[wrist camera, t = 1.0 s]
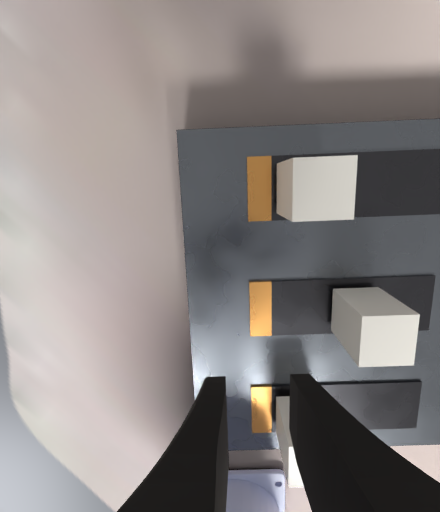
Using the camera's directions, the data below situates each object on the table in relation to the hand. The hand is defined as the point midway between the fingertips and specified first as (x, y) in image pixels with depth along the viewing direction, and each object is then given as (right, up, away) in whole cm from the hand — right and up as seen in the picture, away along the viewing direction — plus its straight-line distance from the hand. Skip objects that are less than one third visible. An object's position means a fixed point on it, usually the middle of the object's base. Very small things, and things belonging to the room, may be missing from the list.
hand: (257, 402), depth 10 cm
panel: (+6, +3, +10) cm, 12 cm away
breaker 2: (+3, +8, +5) cm, 10 cm away
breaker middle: (+6, +2, +7) cm, 9 cm away
